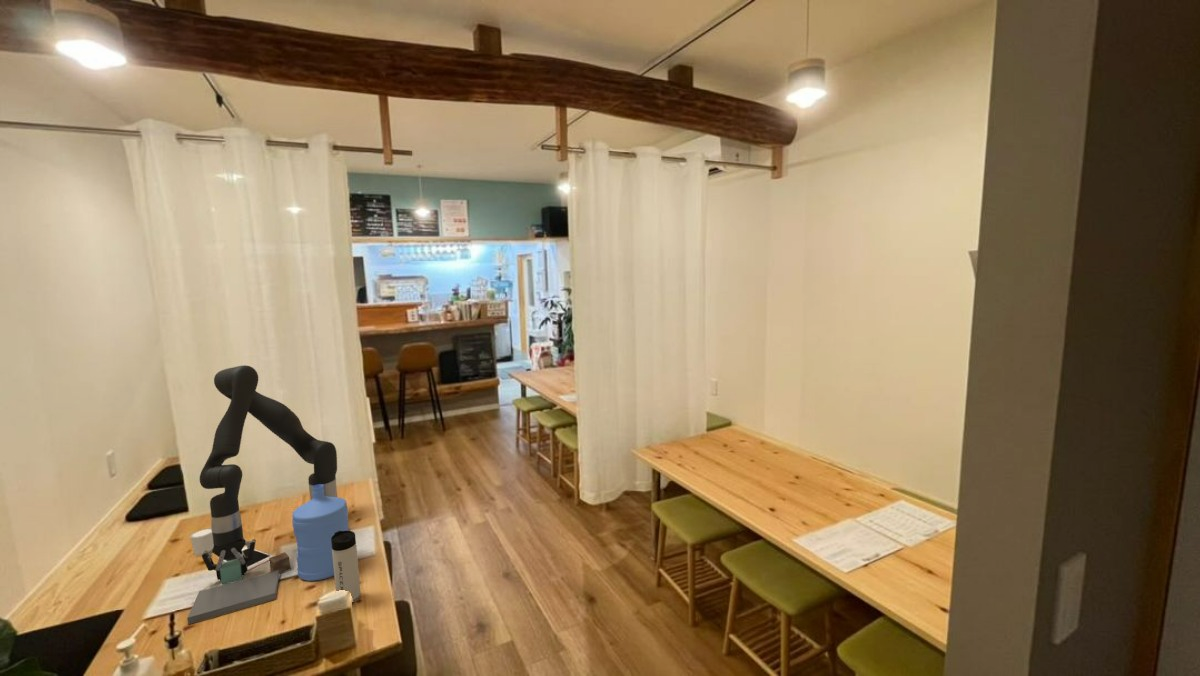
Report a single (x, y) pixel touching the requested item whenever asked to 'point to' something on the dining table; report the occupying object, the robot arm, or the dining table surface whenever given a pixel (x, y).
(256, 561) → the cell phone
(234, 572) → the teal cube
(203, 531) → the white cylinder
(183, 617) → the dining table surface
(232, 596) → the slate board
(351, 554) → the travel mug
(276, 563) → the walnut block
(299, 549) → the water jug
